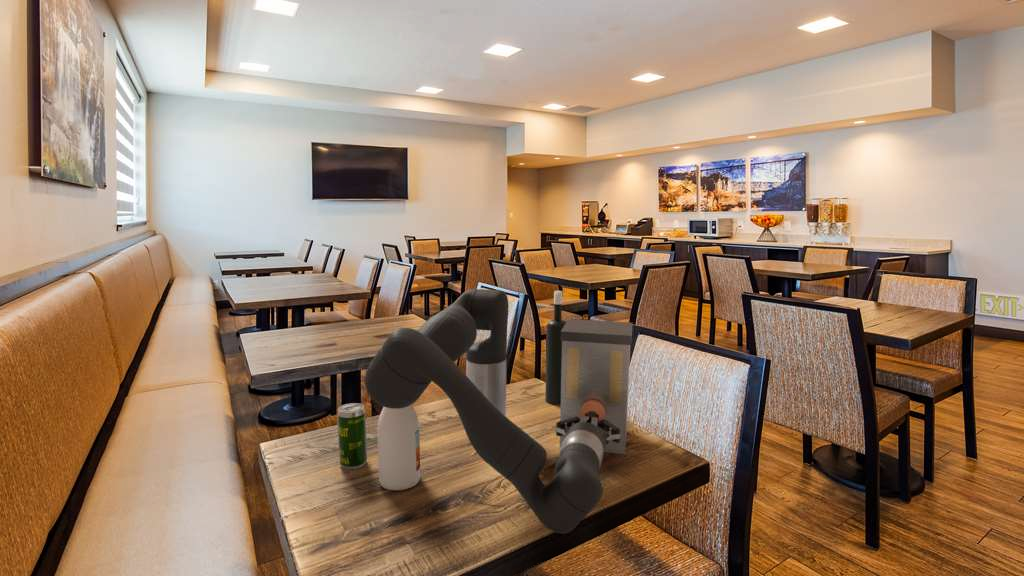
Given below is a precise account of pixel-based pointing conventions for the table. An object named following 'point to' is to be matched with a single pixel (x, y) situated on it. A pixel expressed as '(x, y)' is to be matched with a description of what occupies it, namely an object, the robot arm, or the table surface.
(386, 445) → the milk bottle
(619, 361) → the dispenser
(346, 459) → the beer can
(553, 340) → the wine bottle
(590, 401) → the plunger
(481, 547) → the table surface
